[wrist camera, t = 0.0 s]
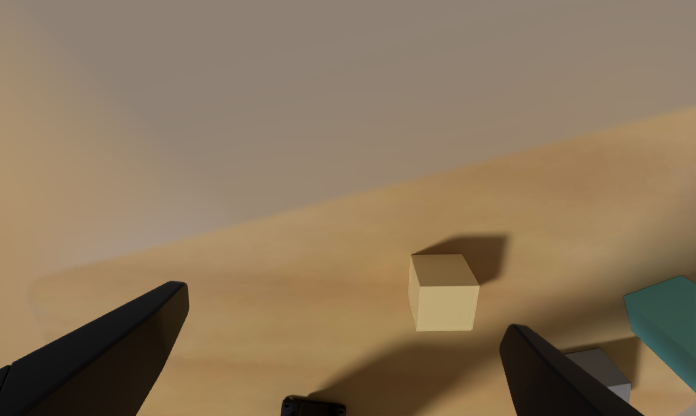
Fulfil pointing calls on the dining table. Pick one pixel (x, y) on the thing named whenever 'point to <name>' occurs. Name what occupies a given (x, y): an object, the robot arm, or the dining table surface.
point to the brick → (442, 292)
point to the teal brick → (667, 323)
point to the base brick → (603, 371)
